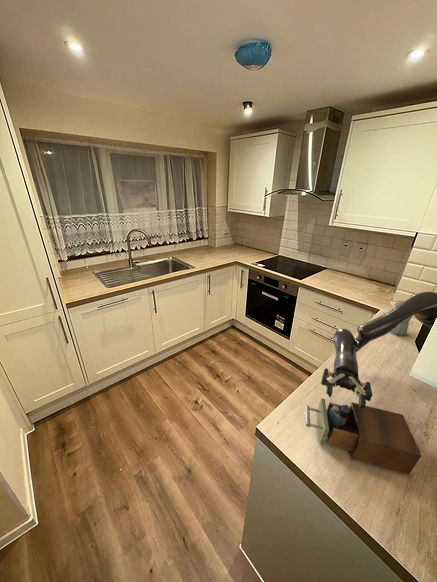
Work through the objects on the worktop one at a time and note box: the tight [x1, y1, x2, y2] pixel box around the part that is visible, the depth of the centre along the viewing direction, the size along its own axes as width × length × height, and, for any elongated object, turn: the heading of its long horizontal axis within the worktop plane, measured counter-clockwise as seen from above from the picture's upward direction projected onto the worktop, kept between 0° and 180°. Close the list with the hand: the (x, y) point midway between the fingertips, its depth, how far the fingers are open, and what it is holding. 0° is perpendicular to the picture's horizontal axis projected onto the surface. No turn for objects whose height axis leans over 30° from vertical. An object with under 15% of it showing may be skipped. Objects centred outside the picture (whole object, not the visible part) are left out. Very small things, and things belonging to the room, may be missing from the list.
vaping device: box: [327, 404, 350, 431], centre depth 73 cm, size 3×5×12 cm, turn 24°
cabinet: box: [349, 401, 423, 476], centre depth 71 cm, size 15×13×9 cm
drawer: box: [304, 397, 360, 452], centre depth 74 cm, size 18×11×7 cm, turn 73°
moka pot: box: [390, 300, 414, 337], centre depth 126 cm, size 10×15×20 cm, turn 112°
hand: (345, 400), depth 70 cm, fingers open, 8 cm apart
